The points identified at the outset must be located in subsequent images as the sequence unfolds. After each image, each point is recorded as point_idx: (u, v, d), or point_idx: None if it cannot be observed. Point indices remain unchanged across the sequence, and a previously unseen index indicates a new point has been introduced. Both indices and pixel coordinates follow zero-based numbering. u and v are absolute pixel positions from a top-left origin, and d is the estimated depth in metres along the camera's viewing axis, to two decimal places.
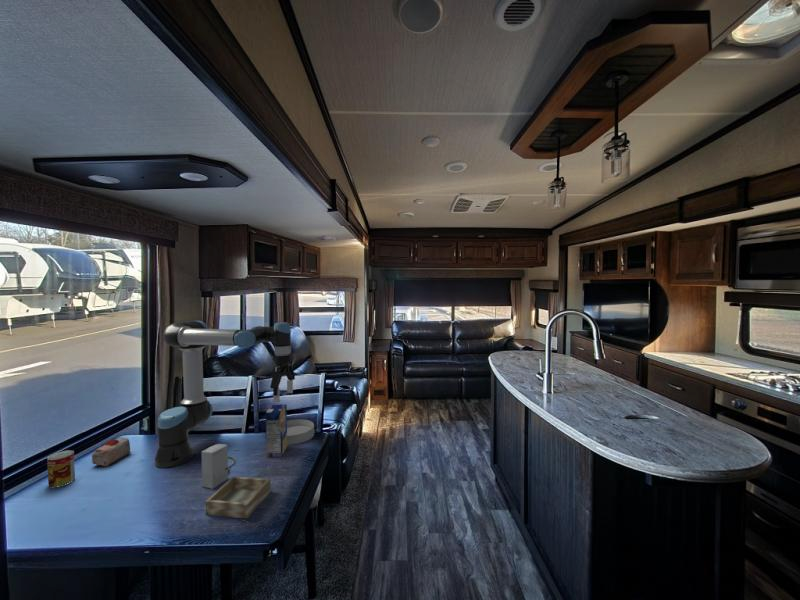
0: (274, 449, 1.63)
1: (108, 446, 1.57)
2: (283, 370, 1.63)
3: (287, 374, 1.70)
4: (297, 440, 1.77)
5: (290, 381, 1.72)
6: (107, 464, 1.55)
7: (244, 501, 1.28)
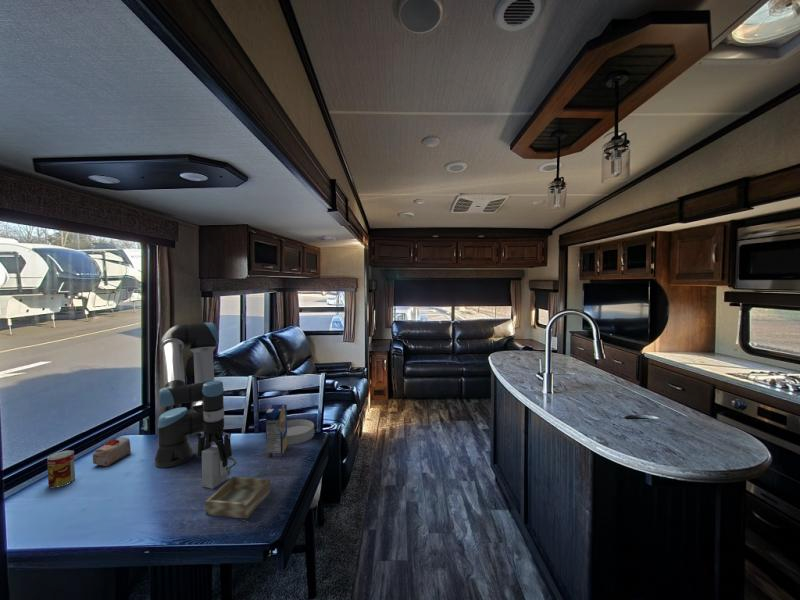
0: (274, 449, 1.63)
1: (109, 446, 1.58)
2: (206, 438, 1.40)
3: None
4: (297, 440, 1.77)
5: None
6: (108, 464, 1.55)
7: (244, 501, 1.28)
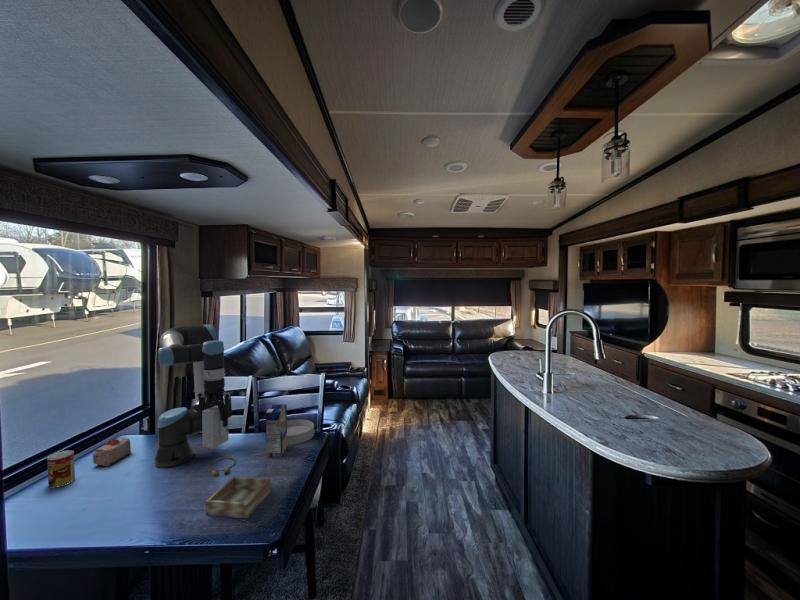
0: (274, 449, 1.63)
1: (109, 446, 1.58)
2: (206, 398, 1.38)
3: None
4: (297, 440, 1.77)
5: None
6: (108, 464, 1.55)
7: (244, 501, 1.28)
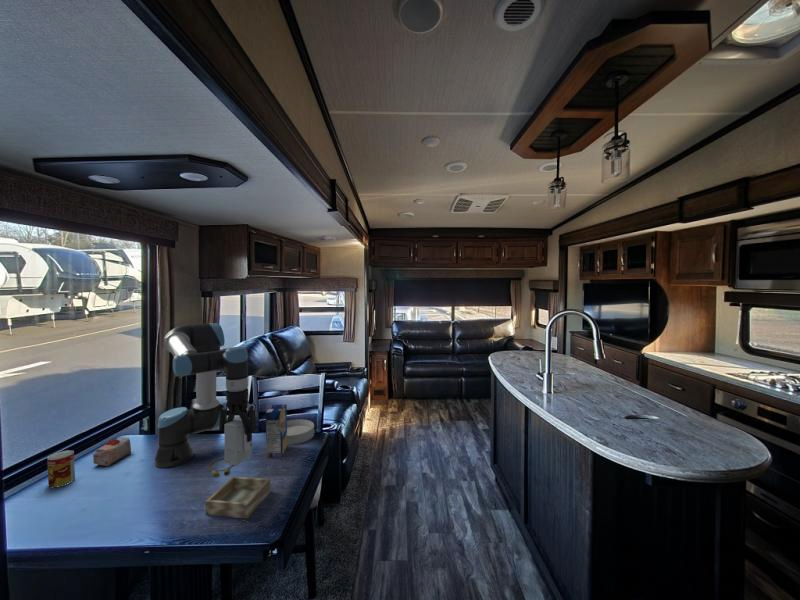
0: (274, 449, 1.63)
1: (109, 446, 1.58)
2: (229, 410, 1.26)
3: None
4: (297, 440, 1.77)
5: None
6: (108, 464, 1.55)
7: (244, 501, 1.28)
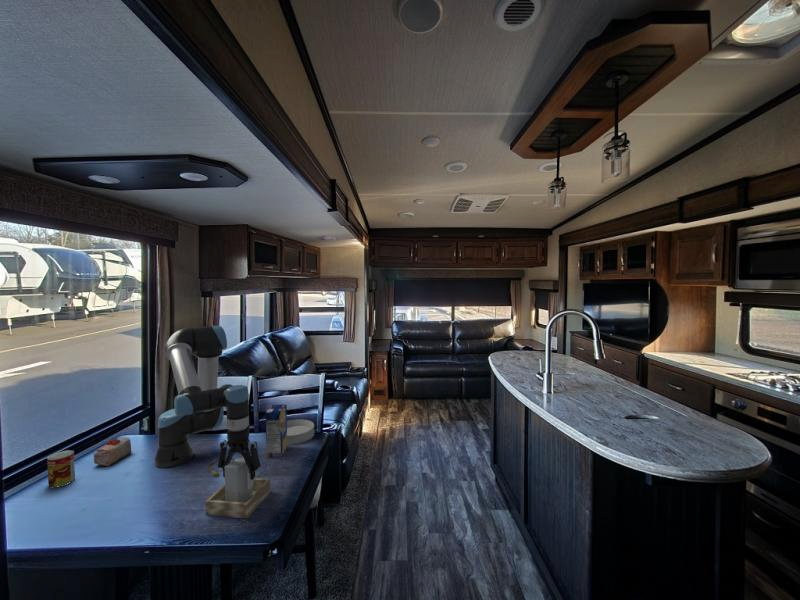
0: (274, 449, 1.63)
1: (110, 446, 1.58)
2: None
3: None
4: (297, 440, 1.77)
5: None
6: (109, 464, 1.55)
7: None
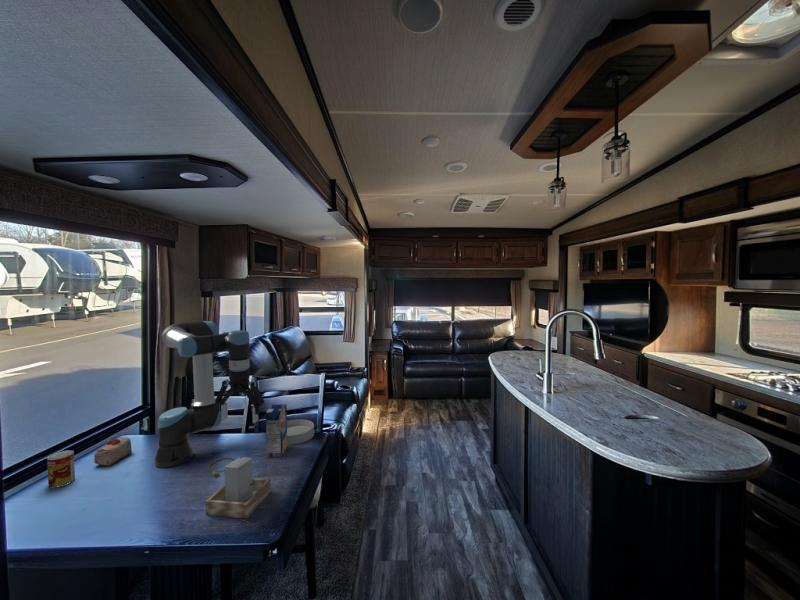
0: (274, 449, 1.63)
1: (110, 446, 1.58)
2: None
3: None
4: (297, 440, 1.77)
5: None
6: (110, 463, 1.55)
7: None
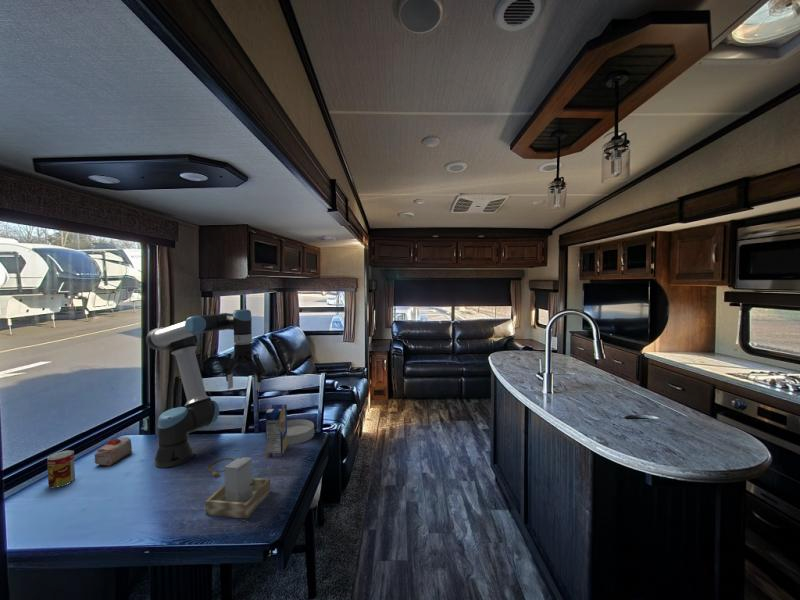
0: (274, 449, 1.63)
1: (111, 446, 1.58)
2: None
3: None
4: (297, 440, 1.77)
5: None
6: (110, 463, 1.56)
7: None
